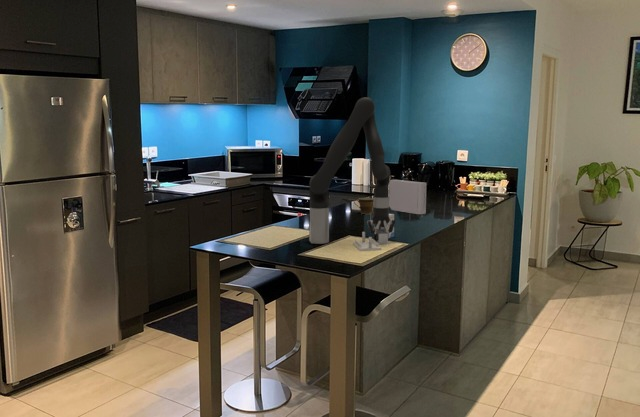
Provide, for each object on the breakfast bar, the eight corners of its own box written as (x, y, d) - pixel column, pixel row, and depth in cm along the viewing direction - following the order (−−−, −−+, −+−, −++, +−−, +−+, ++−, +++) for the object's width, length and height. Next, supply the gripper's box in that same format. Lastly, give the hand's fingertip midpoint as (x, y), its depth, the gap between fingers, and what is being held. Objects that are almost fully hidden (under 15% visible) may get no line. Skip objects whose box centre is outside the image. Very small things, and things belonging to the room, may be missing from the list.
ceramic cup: (373, 212, 368) (373, 197, 367) (375, 215, 358) (375, 199, 357) (353, 213, 368) (353, 197, 366) (354, 215, 358) (354, 199, 356)
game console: (419, 214, 361) (420, 183, 358) (388, 209, 382) (389, 180, 379) (425, 213, 364) (426, 182, 361) (394, 208, 385) (395, 179, 382)
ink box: (386, 235, 295) (386, 213, 293) (394, 236, 291) (394, 214, 290) (377, 238, 288) (377, 215, 286) (385, 239, 285) (385, 216, 283)
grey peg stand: (359, 250, 260) (360, 237, 259) (353, 244, 274) (353, 232, 273) (381, 249, 262) (381, 237, 261) (373, 243, 275) (373, 231, 274)
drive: (378, 245, 272) (378, 232, 271) (373, 241, 281) (373, 229, 280) (387, 244, 273) (387, 232, 272) (382, 240, 282) (382, 228, 281)
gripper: (368, 207, 270) (368, 243, 272) (397, 207, 272) (397, 242, 274) (364, 205, 277) (364, 240, 279) (393, 204, 279) (392, 239, 282)
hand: (380, 240), depth 277 cm, fingers closed on drive, 4 cm apart
